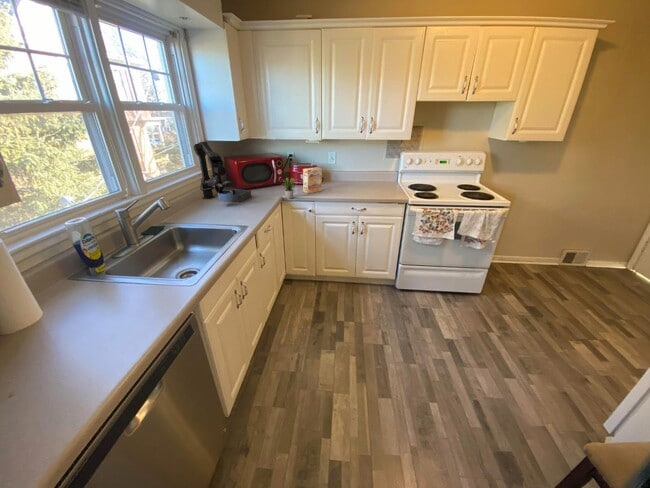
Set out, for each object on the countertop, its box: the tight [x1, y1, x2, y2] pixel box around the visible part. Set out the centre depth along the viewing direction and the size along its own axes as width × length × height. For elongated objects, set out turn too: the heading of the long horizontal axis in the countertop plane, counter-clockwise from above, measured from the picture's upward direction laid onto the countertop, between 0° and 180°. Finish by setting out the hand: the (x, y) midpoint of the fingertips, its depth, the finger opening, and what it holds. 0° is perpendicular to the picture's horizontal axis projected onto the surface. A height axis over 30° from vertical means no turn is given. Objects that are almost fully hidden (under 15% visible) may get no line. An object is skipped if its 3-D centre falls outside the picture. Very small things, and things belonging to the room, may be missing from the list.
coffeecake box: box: [302, 166, 323, 195], centre depth 235 cm, size 15×7×20 cm, turn 129°
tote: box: [229, 188, 252, 203], centre depth 217 cm, size 16×16×5 cm
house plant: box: [282, 177, 298, 200], centre depth 216 cm, size 14×14×16 cm
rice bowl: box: [217, 189, 233, 202], centre depth 197 cm, size 10×10×5 cm
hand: (219, 195), depth 198 cm, fingers closed on rice bowl
